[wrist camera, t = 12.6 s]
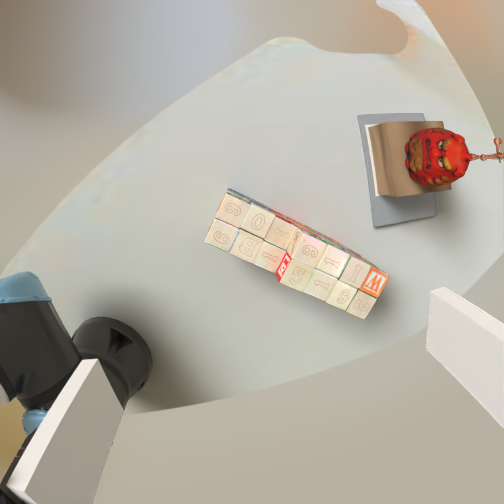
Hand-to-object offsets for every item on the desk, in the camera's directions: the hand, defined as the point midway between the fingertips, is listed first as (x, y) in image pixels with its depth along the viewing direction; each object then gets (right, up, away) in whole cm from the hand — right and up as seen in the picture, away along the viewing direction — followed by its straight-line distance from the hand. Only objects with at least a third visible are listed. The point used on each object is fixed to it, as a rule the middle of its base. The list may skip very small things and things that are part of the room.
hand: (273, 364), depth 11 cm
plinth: (+22, +18, +31) cm, 42 cm away
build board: (+22, +17, +32) cm, 43 cm away
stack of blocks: (+4, +6, +34) cm, 35 cm away
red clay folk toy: (+22, +17, +25) cm, 38 cm away
